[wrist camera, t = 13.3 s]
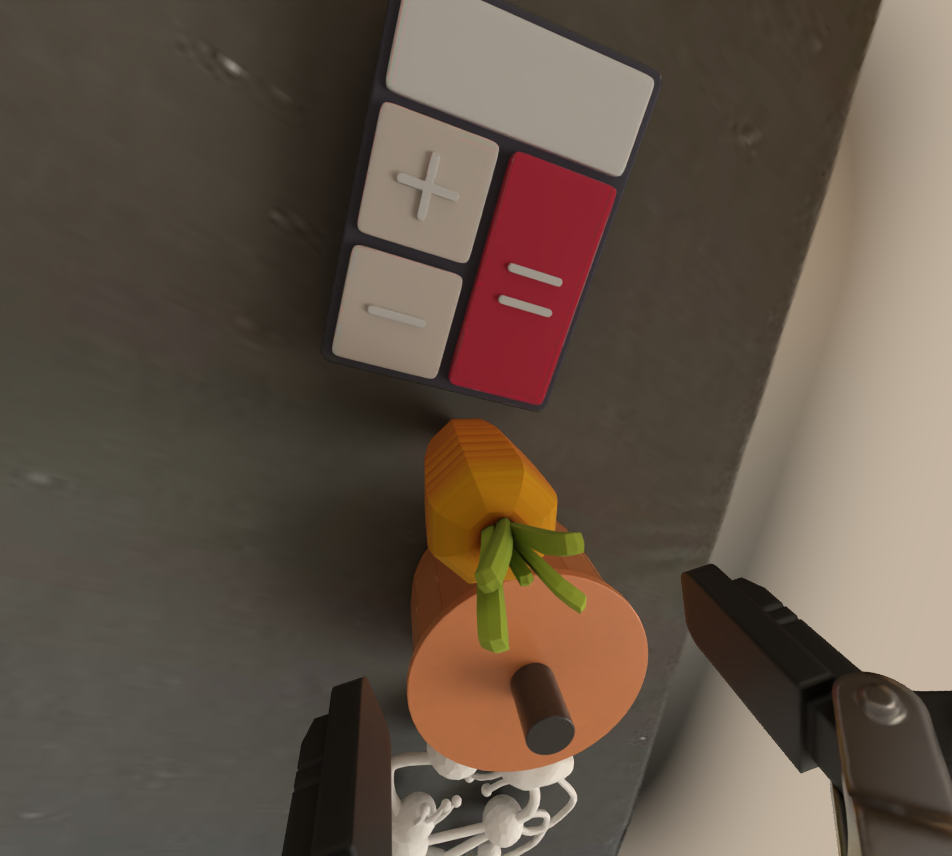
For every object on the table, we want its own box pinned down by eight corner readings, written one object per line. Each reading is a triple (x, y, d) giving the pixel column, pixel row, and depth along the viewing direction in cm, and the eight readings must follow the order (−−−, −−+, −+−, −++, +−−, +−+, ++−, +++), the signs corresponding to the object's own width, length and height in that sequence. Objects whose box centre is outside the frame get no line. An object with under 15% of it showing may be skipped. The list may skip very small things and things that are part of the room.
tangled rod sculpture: (464, 887, 41) (475, 954, 37) (297, 874, 36) (290, 950, 32) (595, 726, 37) (622, 783, 33) (427, 684, 31) (437, 746, 28)
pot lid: (443, 781, 26) (452, 868, 23) (373, 607, 22) (369, 678, 18) (651, 709, 27) (693, 782, 23) (620, 528, 23) (666, 581, 19)
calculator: (315, 364, 21) (397, -63, 16) (328, 343, 25) (397, -5, 20) (549, 420, 24) (678, 66, 19) (527, 393, 28) (629, 95, 23)
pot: (439, 678, 32) (451, 782, 26) (388, 539, 28) (387, 621, 22) (596, 626, 33) (646, 714, 26) (567, 484, 29) (617, 547, 23)
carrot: (482, 371, 26) (589, 497, 12) (513, 451, 28) (637, 641, 14) (396, 407, 26) (402, 577, 12) (432, 485, 28) (474, 712, 14)
